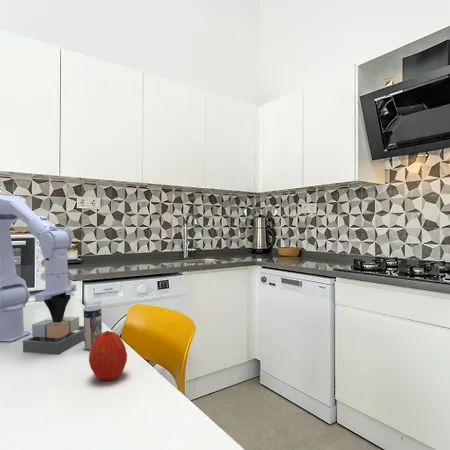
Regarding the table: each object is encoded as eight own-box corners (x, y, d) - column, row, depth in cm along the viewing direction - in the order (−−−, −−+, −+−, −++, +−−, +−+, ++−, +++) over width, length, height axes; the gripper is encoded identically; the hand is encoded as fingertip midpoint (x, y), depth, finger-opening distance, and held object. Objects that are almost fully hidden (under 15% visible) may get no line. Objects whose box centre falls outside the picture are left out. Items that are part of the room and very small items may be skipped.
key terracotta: (46, 337, 96) (46, 325, 96) (56, 332, 100) (56, 321, 100) (59, 338, 95) (59, 325, 95) (68, 333, 99) (68, 321, 99)
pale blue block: (32, 336, 97) (32, 324, 97) (42, 332, 101) (42, 320, 101) (44, 337, 96) (44, 325, 96) (54, 332, 100) (54, 321, 100)
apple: (88, 373, 81) (87, 327, 81) (125, 366, 85) (124, 322, 84) (90, 388, 74) (88, 338, 74) (129, 380, 77) (128, 332, 77)
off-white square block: (44, 331, 102) (44, 319, 102) (53, 327, 106) (53, 315, 106) (56, 331, 101) (56, 320, 101) (65, 327, 105) (65, 316, 105)
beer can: (96, 351, 95) (95, 307, 95) (80, 350, 96) (79, 307, 96) (105, 345, 100) (104, 303, 99) (90, 344, 101) (89, 302, 100)
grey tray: (23, 352, 95) (22, 340, 95) (59, 334, 110) (59, 323, 110) (58, 354, 93) (58, 342, 93) (91, 336, 108) (90, 325, 108)
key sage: (58, 331, 101) (58, 320, 101) (67, 327, 105) (67, 316, 105) (70, 332, 100) (70, 320, 100) (79, 328, 104) (78, 317, 104)
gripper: (51, 277, 90) (52, 330, 90) (84, 269, 104) (85, 315, 104) (27, 277, 91) (28, 329, 91) (63, 269, 105) (65, 314, 105)
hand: (57, 321), depth 98 cm, fingers closed
